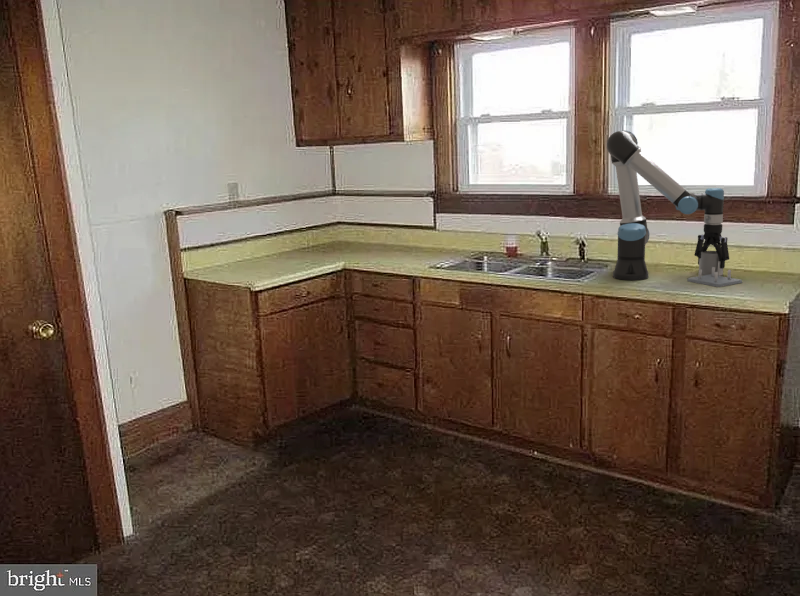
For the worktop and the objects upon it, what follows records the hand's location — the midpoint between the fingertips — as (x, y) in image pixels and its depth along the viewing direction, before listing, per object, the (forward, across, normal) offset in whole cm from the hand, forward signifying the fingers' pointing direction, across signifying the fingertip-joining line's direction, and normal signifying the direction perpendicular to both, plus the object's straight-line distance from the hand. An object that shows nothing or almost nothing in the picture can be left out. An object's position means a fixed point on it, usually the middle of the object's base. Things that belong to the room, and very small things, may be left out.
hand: (710, 273), depth 317 cm
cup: (0, 0, 0) cm, 0 cm away
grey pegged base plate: (0, +12, -12) cm, 17 cm away
